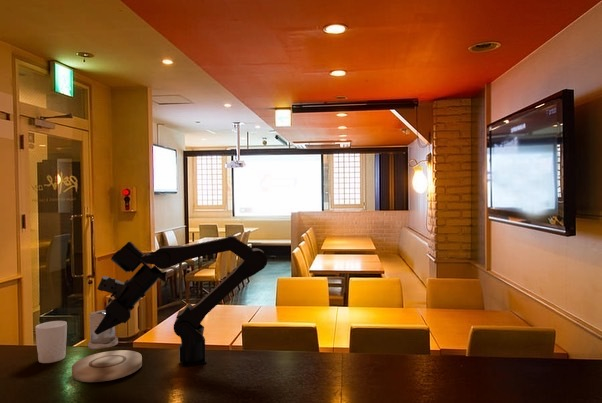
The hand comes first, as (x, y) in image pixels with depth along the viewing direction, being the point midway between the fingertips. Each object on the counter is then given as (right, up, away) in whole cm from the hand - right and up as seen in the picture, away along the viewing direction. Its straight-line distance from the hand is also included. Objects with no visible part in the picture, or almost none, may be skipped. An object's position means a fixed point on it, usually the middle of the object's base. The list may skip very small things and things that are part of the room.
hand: (97, 330), depth 115 cm
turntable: (+2, -11, +1) cm, 11 cm away
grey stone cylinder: (+1, -4, 0) cm, 4 cm away
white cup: (-18, -12, +11) cm, 24 cm away
